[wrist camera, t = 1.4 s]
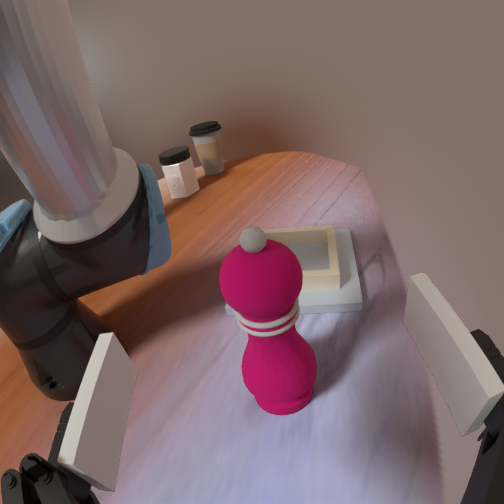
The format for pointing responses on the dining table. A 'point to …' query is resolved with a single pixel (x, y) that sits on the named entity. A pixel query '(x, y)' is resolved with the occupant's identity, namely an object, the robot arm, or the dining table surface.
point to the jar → (179, 172)
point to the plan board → (322, 268)
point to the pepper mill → (269, 321)
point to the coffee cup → (209, 146)
